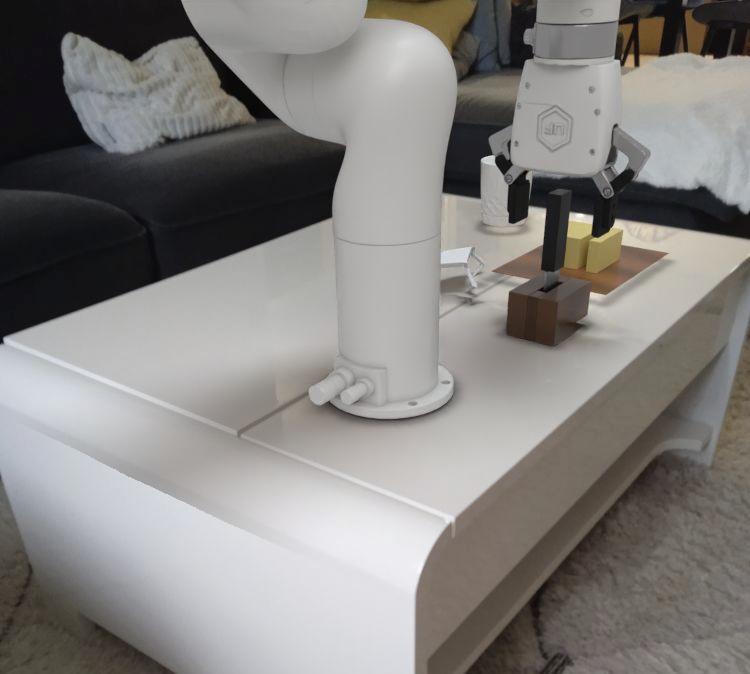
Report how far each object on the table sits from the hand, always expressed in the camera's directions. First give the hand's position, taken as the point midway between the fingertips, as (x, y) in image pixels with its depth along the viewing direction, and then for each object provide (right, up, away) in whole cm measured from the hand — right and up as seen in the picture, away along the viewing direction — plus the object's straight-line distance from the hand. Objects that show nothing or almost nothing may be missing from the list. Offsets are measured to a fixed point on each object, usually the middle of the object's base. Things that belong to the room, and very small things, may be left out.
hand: (558, 227), depth 87 cm
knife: (0, -10, +6) cm, 11 cm away
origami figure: (-9, -3, +17) cm, 19 cm away
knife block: (0, -10, +6) cm, 11 cm away
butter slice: (+10, +2, +21) cm, 23 cm away
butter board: (+8, +2, +23) cm, 24 cm away
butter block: (+7, +3, +23) cm, 24 cm away
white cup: (0, +13, +41) cm, 43 cm away
